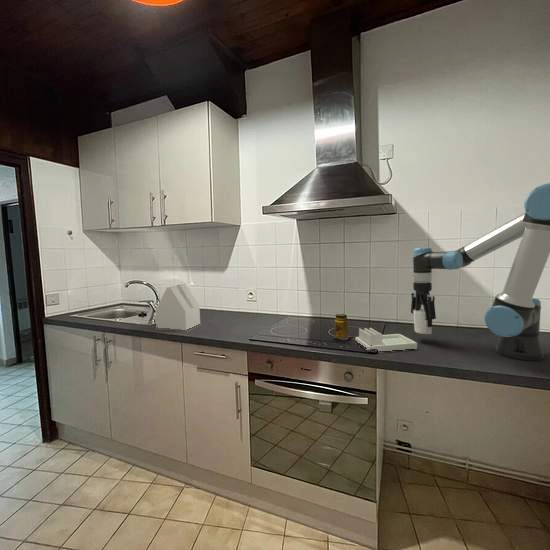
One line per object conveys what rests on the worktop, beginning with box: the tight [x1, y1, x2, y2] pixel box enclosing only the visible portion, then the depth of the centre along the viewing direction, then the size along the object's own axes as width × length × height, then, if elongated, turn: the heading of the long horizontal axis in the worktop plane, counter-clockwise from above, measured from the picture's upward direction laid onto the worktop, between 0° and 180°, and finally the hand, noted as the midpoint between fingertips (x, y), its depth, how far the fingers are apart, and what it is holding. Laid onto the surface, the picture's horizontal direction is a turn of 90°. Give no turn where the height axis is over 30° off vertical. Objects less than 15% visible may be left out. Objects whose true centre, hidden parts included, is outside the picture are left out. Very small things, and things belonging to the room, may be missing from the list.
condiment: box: [334, 313, 349, 338], centre depth 149 cm, size 7×8×12 cm
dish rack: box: [354, 327, 418, 352], centre depth 137 cm, size 14×22×7 cm, turn 98°
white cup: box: [412, 308, 426, 335], centre depth 141 cm, size 8×8×10 cm
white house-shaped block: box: [155, 283, 201, 330], centre depth 179 cm, size 19×15×25 cm
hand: (422, 331), depth 141 cm, fingers closed on white cup, 7 cm apart
